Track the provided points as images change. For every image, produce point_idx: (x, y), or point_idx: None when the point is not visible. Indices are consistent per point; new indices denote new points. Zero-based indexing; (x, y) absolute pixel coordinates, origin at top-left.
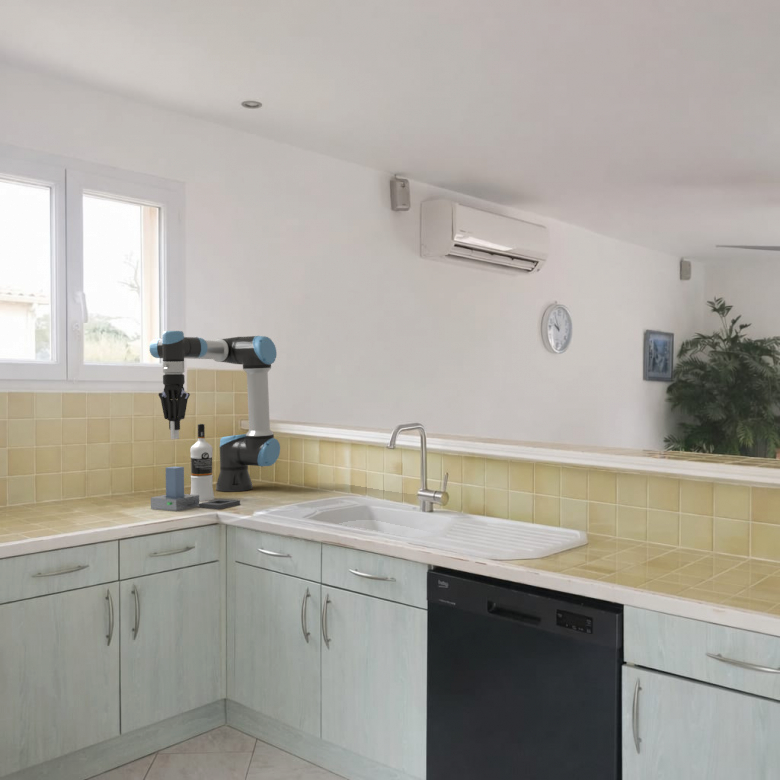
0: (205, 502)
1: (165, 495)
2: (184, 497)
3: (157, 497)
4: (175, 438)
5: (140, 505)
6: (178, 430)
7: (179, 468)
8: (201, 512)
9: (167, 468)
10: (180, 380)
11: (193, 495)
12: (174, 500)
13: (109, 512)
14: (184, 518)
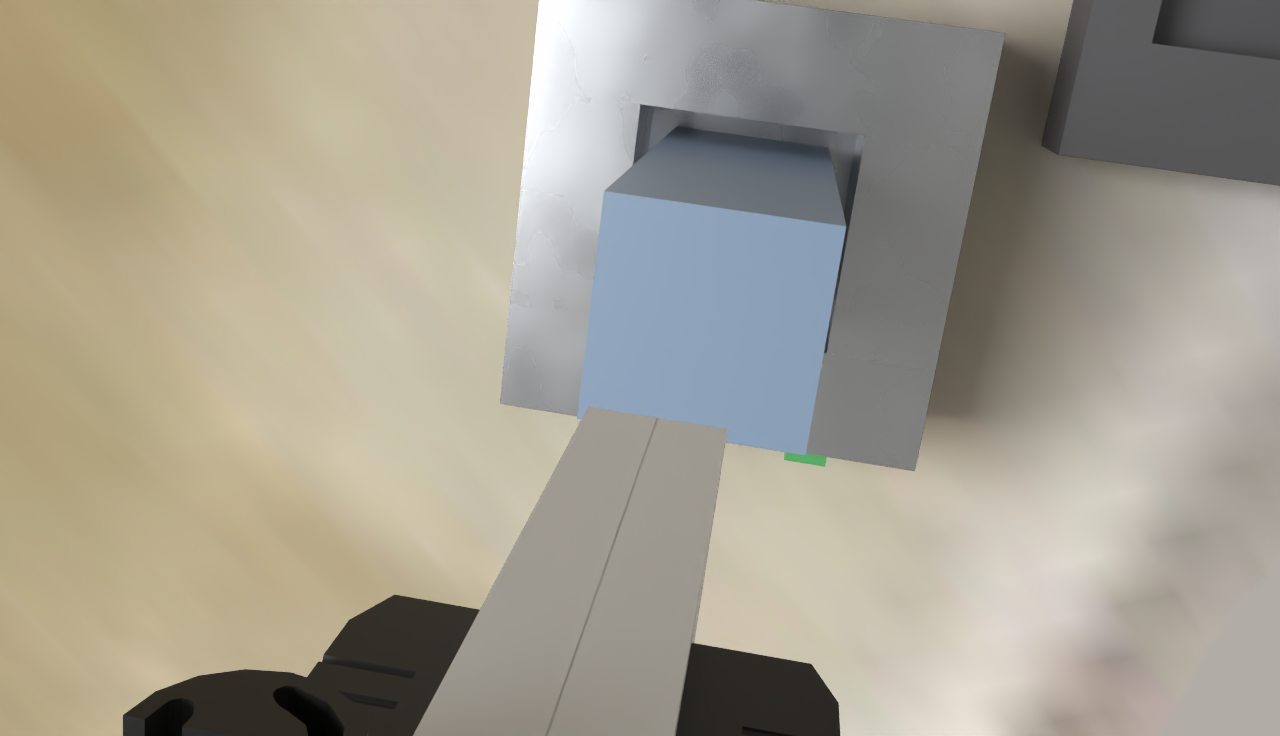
0: (1100, 50)
1: (569, 208)
2: (916, 285)
3: (576, 377)
4: (701, 594)
5: (151, 41)
6: (699, 569)
7: (825, 341)
8: (1135, 249)
9: None
10: None
11: (943, 93)
12: (885, 461)
13: (180, 512)
14: (1132, 611)
